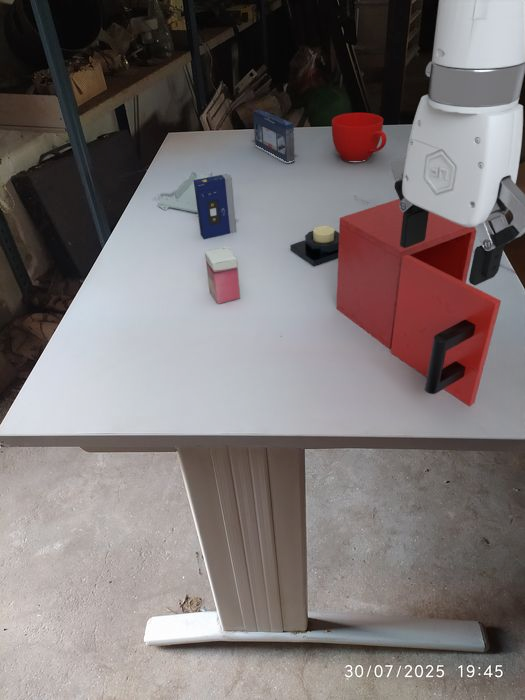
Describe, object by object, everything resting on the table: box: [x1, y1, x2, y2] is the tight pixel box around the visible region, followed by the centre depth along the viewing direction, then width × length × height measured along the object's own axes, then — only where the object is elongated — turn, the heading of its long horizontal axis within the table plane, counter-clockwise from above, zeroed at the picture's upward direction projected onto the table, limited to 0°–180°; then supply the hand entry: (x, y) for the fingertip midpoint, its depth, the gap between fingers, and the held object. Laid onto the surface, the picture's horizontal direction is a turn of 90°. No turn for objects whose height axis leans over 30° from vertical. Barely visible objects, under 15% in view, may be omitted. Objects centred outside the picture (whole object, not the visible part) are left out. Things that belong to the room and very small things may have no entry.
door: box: [390, 254, 502, 407], centre depth 68 cm, size 7×14×16 cm, turn 34°
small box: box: [204, 245, 241, 305], centre depth 91 cm, size 5×4×8 cm
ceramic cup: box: [331, 112, 387, 161], centre depth 139 cm, size 13×17×10 cm
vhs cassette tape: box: [252, 109, 296, 162], centre depth 147 cm, size 18×3×10 cm, turn 27°
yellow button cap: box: [312, 225, 335, 243], centre depth 102 cm, size 4×4×2 cm
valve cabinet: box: [335, 198, 477, 350], centre depth 81 cm, size 13×14×16 cm
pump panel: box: [290, 229, 339, 267], centre depth 103 cm, size 10×8×3 cm
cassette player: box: [194, 173, 237, 240], centre depth 109 cm, size 7×2×12 cm, turn 112°
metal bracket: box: [157, 170, 214, 218], centre depth 125 cm, size 14×6×15 cm
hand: (445, 260), depth 57 cm, fingers open, 9 cm apart
